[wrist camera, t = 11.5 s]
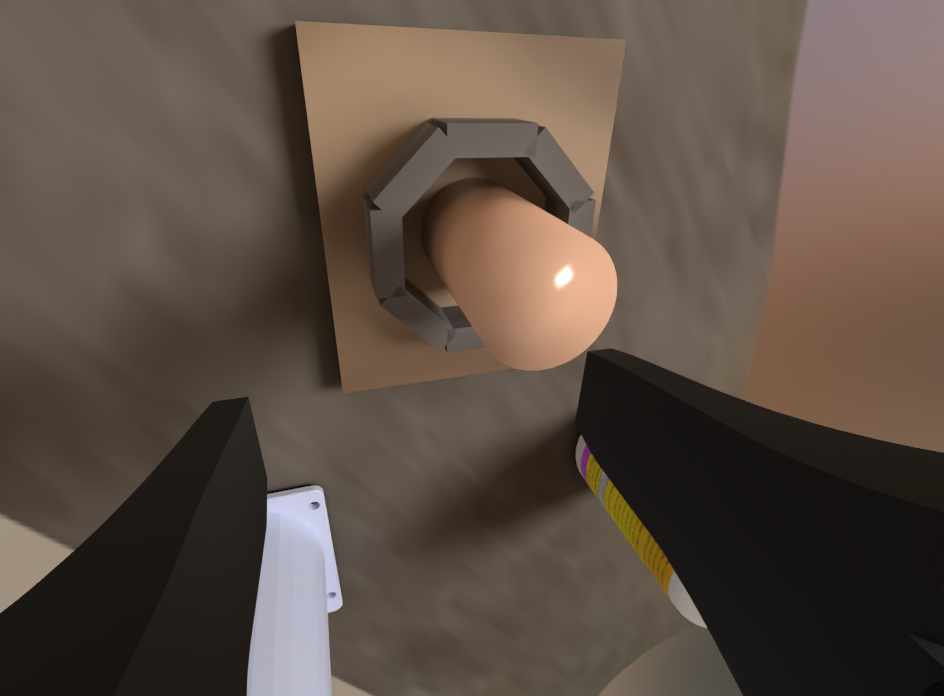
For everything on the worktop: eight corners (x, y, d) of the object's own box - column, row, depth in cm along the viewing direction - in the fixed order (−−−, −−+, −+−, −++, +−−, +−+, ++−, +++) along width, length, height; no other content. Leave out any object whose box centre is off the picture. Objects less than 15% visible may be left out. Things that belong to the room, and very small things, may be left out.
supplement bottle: (597, 494, 30) (757, 719, 20) (551, 438, 27) (718, 679, 16) (684, 431, 30) (894, 627, 19) (649, 366, 26) (886, 565, 16)
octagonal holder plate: (567, 349, 24) (598, 381, 21) (341, 380, 21) (347, 422, 19) (611, 41, 18) (662, 36, 15) (295, 23, 15) (294, 14, 12)
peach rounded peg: (517, 276, 20) (604, 360, 14) (423, 285, 19) (474, 379, 13) (525, 175, 18) (629, 225, 12) (419, 179, 17) (479, 236, 11)
